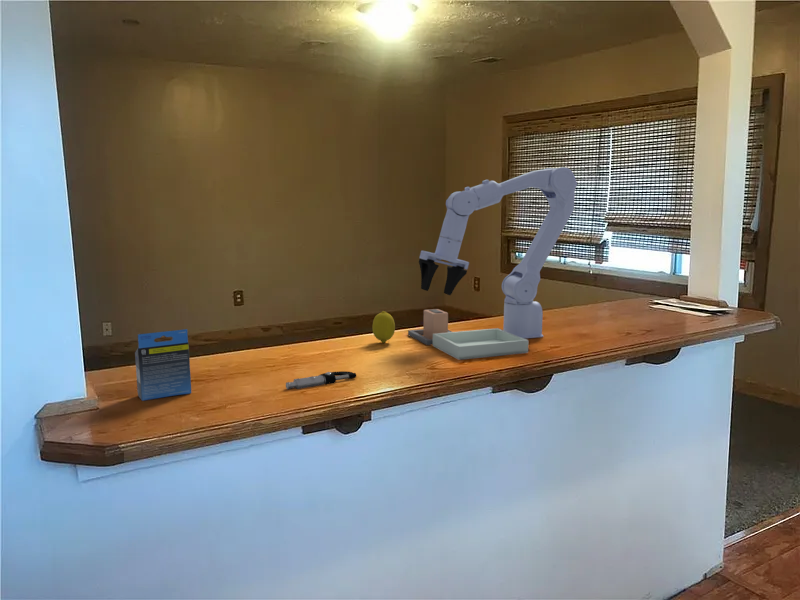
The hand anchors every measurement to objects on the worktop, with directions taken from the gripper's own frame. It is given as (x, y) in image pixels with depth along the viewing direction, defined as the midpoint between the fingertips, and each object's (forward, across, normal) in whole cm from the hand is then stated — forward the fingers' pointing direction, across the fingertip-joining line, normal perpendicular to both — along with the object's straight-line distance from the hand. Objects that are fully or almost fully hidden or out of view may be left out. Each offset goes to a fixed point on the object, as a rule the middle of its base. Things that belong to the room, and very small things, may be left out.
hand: (435, 292), depth 166 cm
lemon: (+15, +10, -2) cm, 18 cm away
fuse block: (+12, -3, +1) cm, 12 cm away
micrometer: (+20, +38, +17) cm, 46 cm away
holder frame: (+12, -3, +1) cm, 12 cm away
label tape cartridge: (+27, +64, +9) cm, 71 cm away
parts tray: (+10, -5, +15) cm, 19 cm away
